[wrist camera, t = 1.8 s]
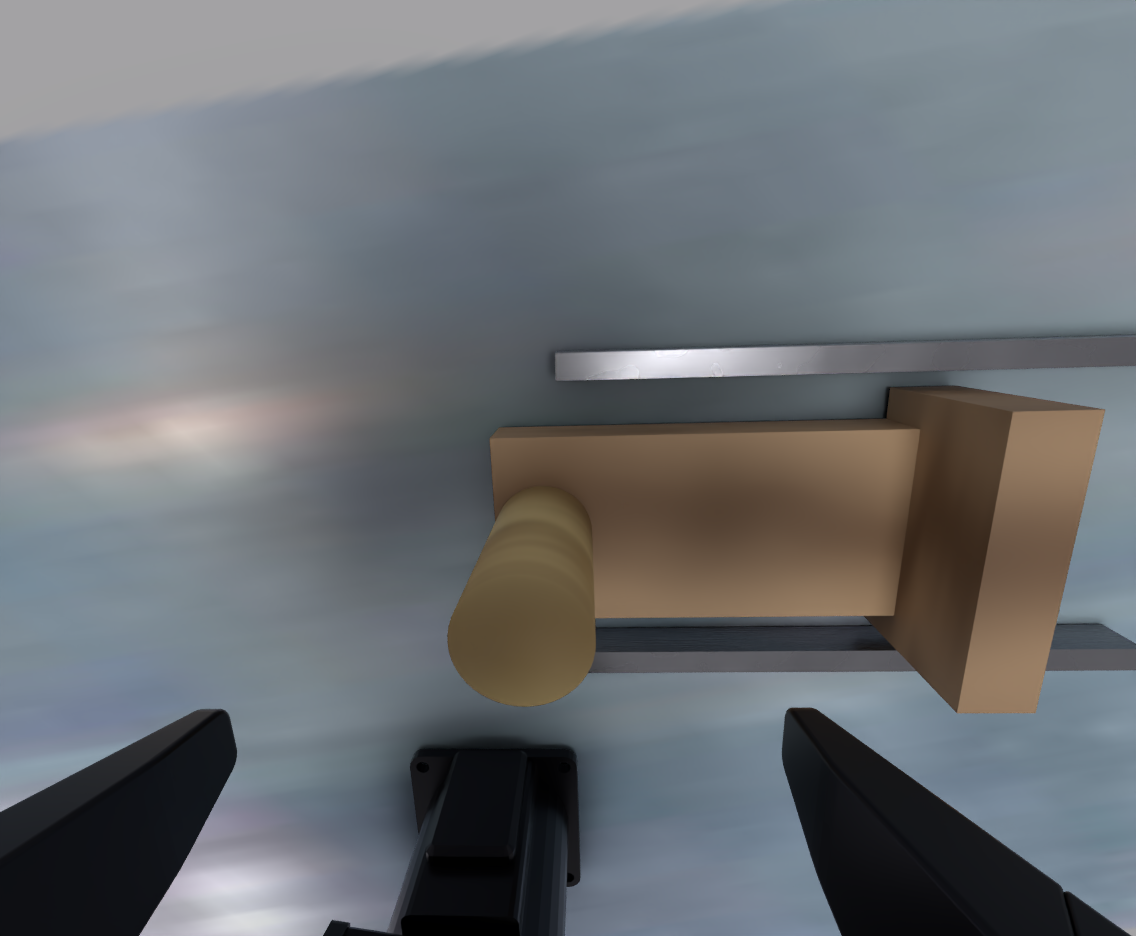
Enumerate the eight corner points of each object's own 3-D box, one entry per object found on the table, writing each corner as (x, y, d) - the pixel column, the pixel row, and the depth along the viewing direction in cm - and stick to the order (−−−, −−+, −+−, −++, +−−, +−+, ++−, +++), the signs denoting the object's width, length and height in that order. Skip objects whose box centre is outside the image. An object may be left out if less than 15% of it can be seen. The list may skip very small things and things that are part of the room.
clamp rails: (1096, 643, 19) (1138, 670, 18) (567, 647, 20) (565, 673, 18) (1176, 333, 16) (1233, 334, 15) (557, 350, 17) (554, 353, 16)
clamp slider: (919, 613, 19) (1144, 806, 11) (511, 617, 19) (463, 802, 12) (955, 385, 17) (1257, 433, 9) (497, 396, 17) (428, 451, 10)
